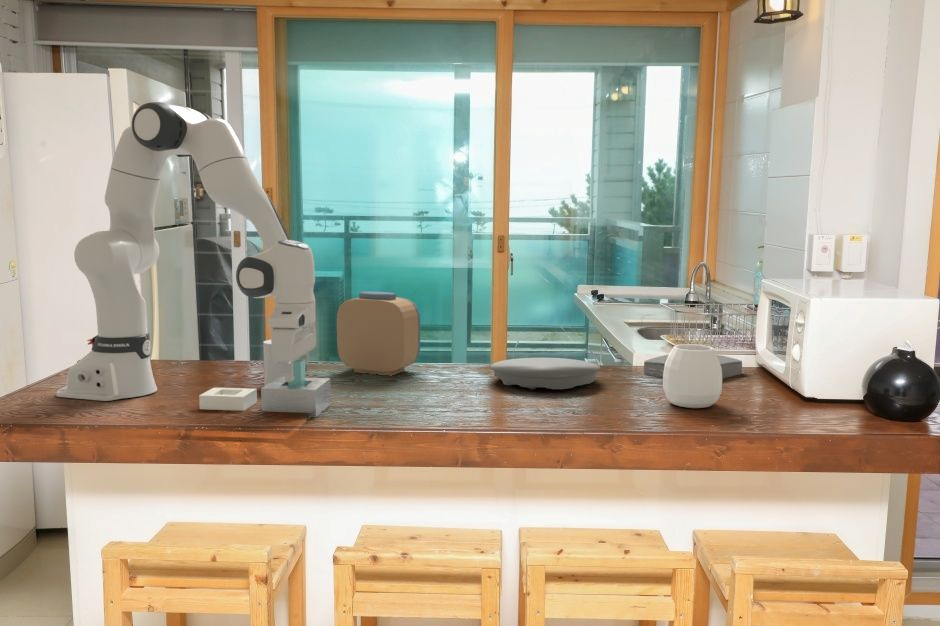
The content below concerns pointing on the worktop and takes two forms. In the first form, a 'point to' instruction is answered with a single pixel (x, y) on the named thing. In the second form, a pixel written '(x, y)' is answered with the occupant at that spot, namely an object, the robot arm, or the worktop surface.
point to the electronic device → (727, 364)
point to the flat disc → (545, 372)
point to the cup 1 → (271, 364)
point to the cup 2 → (692, 376)
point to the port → (297, 396)
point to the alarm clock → (378, 333)
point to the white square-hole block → (228, 399)
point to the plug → (298, 373)
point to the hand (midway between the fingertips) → (296, 376)
